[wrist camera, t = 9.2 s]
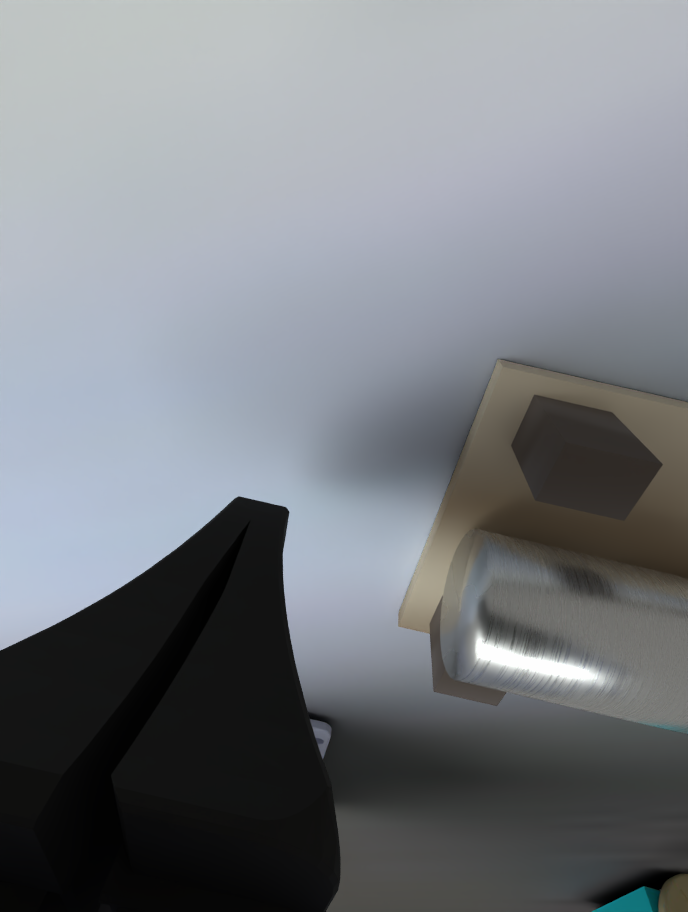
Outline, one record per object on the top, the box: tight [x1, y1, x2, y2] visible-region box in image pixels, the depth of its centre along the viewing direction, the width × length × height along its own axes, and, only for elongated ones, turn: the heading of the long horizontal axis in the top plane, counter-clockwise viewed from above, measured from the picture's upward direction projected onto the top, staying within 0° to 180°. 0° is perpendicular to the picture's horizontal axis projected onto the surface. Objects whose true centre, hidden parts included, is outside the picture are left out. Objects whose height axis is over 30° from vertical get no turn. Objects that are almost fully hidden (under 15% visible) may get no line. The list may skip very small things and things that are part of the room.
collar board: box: [398, 359, 688, 706], centre depth 12 cm, size 10×14×4 cm
